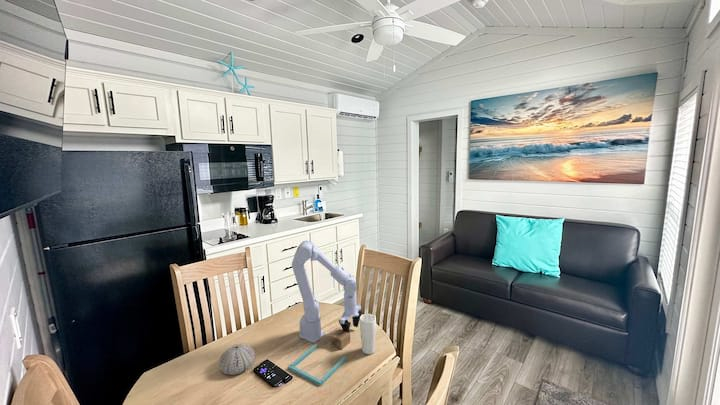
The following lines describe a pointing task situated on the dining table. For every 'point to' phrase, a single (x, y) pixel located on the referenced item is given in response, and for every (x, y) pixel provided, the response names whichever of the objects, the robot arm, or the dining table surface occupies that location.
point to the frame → (308, 376)
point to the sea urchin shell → (237, 359)
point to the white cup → (368, 333)
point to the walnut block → (340, 339)
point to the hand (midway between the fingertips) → (351, 330)
